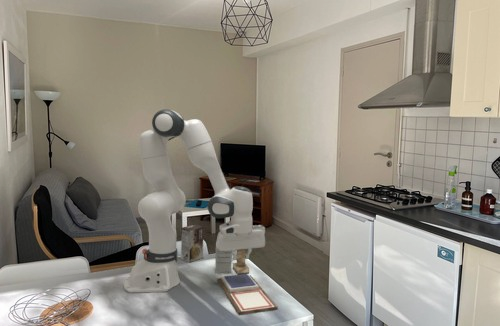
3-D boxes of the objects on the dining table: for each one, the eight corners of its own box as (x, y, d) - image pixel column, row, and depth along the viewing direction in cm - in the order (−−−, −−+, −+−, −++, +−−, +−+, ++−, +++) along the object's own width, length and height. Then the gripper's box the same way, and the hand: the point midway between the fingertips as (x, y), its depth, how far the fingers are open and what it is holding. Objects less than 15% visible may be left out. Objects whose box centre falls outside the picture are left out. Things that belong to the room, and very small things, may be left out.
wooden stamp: (237, 275, 155) (237, 252, 154) (232, 268, 161) (232, 246, 160) (249, 273, 156) (249, 251, 155) (243, 267, 163) (244, 245, 162)
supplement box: (215, 267, 179) (216, 241, 178) (231, 267, 180) (232, 241, 178) (214, 273, 172) (215, 246, 170) (231, 273, 172) (232, 246, 171)
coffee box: (194, 254, 194) (195, 223, 193) (203, 258, 190) (204, 226, 189) (180, 259, 187) (181, 227, 186) (189, 263, 183) (189, 230, 182)
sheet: (241, 311, 137) (241, 310, 137) (230, 293, 150) (230, 293, 150) (274, 306, 141) (274, 306, 141) (260, 290, 154) (260, 289, 154)
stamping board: (238, 315, 136) (238, 312, 136) (217, 280, 164) (217, 278, 164) (277, 309, 141) (277, 306, 141) (250, 277, 169) (250, 275, 169)
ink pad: (230, 292, 151) (230, 288, 151) (221, 279, 164) (221, 275, 163) (258, 288, 155) (258, 285, 155) (248, 276, 168) (248, 272, 167)
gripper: (262, 222, 163) (261, 254, 165) (215, 226, 156) (215, 258, 158) (268, 226, 157) (267, 259, 159) (219, 230, 150) (219, 264, 152)
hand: (240, 259), depth 158 cm, fingers closed on wooden stamp, 3 cm apart
